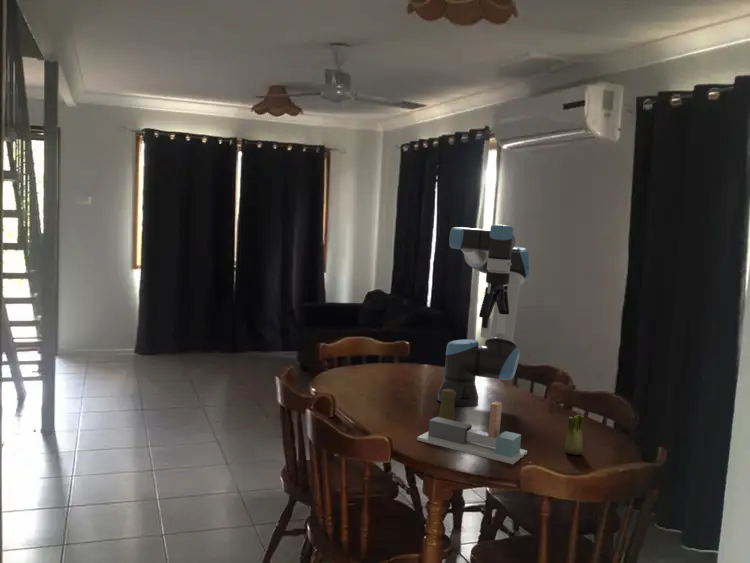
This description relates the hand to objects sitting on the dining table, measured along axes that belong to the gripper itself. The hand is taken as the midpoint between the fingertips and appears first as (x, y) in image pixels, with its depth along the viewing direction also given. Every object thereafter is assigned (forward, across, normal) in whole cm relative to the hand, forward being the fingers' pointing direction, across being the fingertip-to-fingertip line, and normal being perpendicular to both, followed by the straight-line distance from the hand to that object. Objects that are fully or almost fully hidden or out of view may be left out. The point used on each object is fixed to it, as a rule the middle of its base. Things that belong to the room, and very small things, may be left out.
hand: (492, 335), depth 239 cm
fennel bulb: (+31, -8, -32) cm, 45 cm away
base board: (+31, -24, -6) cm, 39 cm away
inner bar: (+29, -24, -9) cm, 39 cm away
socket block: (+31, -24, -17) cm, 43 cm away
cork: (+31, -5, +12) cm, 34 cm away
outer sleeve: (+31, -24, +2) cm, 39 cm away
